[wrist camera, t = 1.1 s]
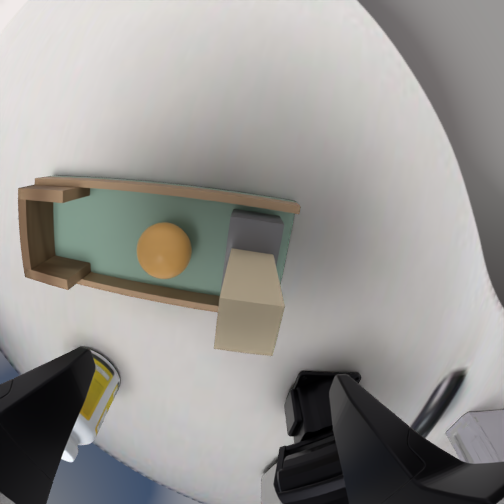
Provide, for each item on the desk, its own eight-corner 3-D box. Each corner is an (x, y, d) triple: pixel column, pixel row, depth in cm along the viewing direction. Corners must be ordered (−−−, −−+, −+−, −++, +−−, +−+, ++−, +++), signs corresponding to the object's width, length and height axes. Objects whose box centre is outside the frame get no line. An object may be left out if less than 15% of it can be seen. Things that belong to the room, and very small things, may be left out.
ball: (199, 221, 18) (187, 234, 15) (194, 270, 19) (182, 293, 16) (149, 214, 18) (128, 226, 14) (147, 262, 19) (127, 282, 16)
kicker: (279, 215, 18) (303, 262, 9) (264, 298, 19) (270, 385, 11) (233, 208, 17) (216, 249, 9) (222, 292, 19) (204, 377, 11)
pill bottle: (69, 336, 23) (11, 408, 12) (121, 359, 23) (73, 447, 12) (76, 376, 25) (33, 444, 14) (123, 397, 25) (88, 475, 14)
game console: (466, 410, 29) (511, 486, 10) (508, 407, 32) (541, 456, 13) (444, 432, 30) (482, 508, 11) (493, 424, 34) (523, 474, 15)
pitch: (294, 200, 19) (300, 206, 16) (274, 303, 21) (276, 320, 19) (53, 175, 18) (34, 178, 15) (55, 263, 20) (39, 273, 18)
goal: (90, 184, 17) (62, 190, 14) (91, 271, 19) (68, 290, 16) (46, 182, 17) (18, 188, 14) (48, 262, 19) (25, 276, 16)
